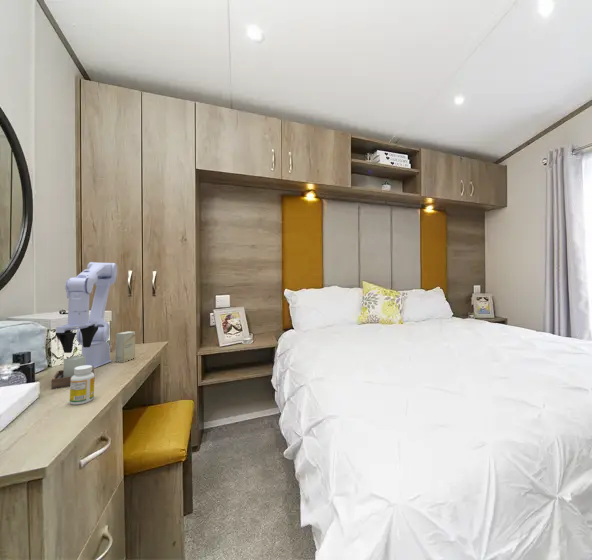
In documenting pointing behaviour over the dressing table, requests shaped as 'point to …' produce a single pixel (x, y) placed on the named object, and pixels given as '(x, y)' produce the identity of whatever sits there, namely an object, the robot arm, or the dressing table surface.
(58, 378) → the bore box
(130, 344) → the skincare box
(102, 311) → the robot arm
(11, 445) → the dressing table surface
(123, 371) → the dressing table surface
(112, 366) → the dressing table surface
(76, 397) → the supplement bottle
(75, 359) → the sage peg
